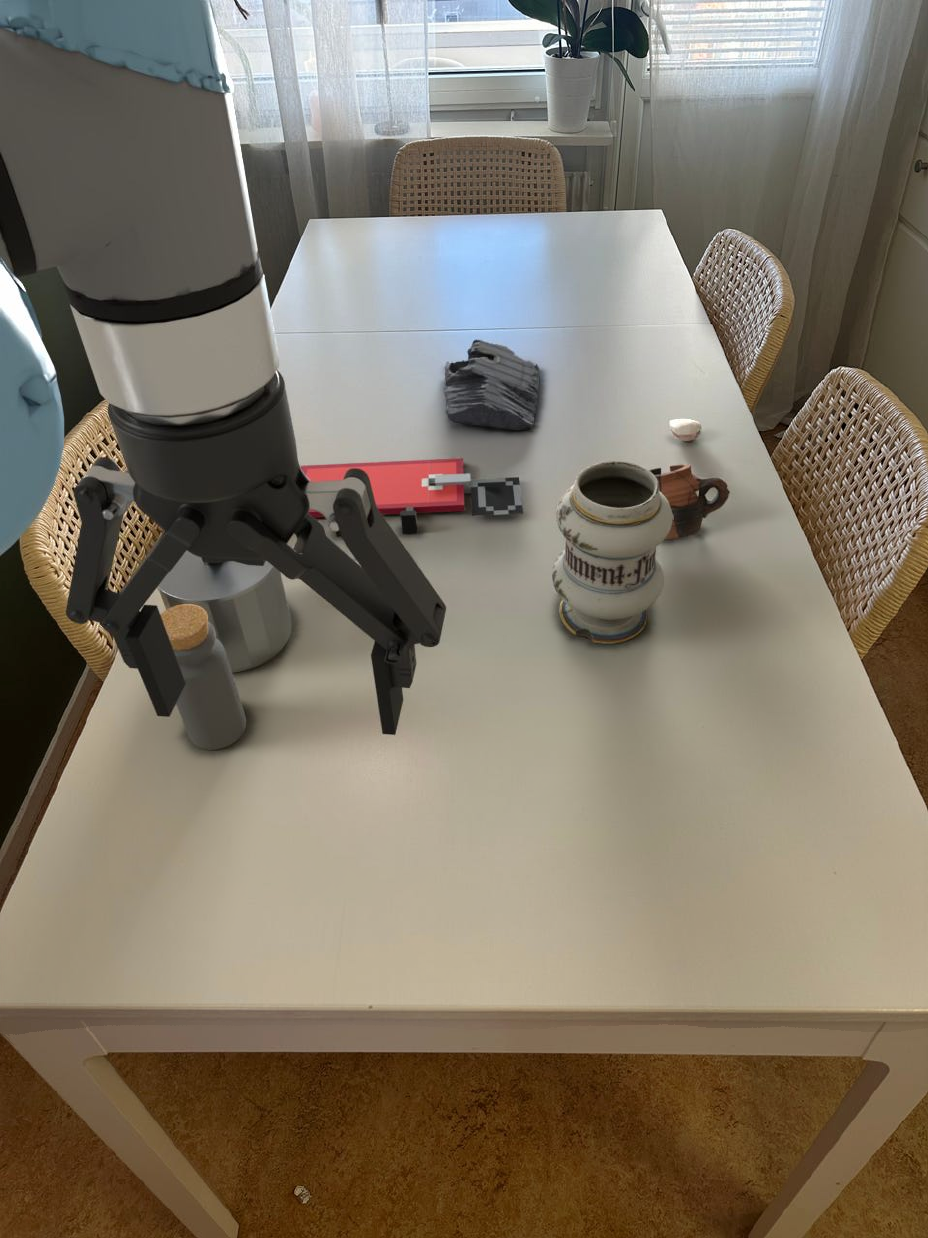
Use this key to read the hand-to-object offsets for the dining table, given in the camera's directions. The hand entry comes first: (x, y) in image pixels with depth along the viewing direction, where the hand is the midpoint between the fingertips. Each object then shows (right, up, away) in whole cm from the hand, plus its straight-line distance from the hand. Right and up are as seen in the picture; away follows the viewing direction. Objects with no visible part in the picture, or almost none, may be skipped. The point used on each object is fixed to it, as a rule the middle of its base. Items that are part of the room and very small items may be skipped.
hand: (281, 708), depth 52 cm
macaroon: (+43, +32, +74) cm, 91 cm away
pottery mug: (+38, +18, +60) cm, 73 cm away
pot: (-15, +4, +46) cm, 49 cm away
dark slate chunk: (+15, +40, +83) cm, 94 cm away
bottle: (-14, -6, +36) cm, 40 cm away
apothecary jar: (+27, +6, +47) cm, 54 cm away
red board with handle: (+3, +21, +64) cm, 68 cm away
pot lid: (-15, +11, +39) cm, 43 cm away
